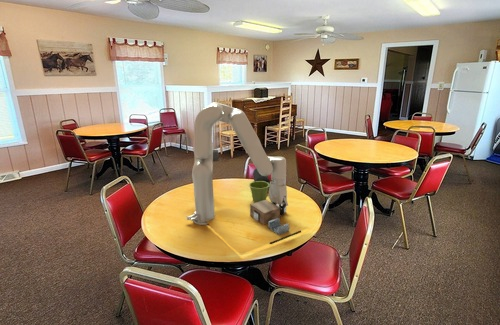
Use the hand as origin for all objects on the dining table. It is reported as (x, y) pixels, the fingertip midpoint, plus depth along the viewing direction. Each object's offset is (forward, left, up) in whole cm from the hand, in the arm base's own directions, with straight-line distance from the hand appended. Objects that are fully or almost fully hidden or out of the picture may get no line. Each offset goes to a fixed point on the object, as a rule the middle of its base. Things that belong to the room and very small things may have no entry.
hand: (277, 212), depth 152 cm
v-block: (-11, -13, -2) cm, 17 cm away
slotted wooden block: (-9, 0, -2) cm, 9 cm away
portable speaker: (+18, +40, -2) cm, 44 cm away
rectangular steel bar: (-5, 0, 0) cm, 5 cm away
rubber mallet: (-19, +43, -2) cm, 47 cm away
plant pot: (+1, +19, -2) cm, 19 cm away
